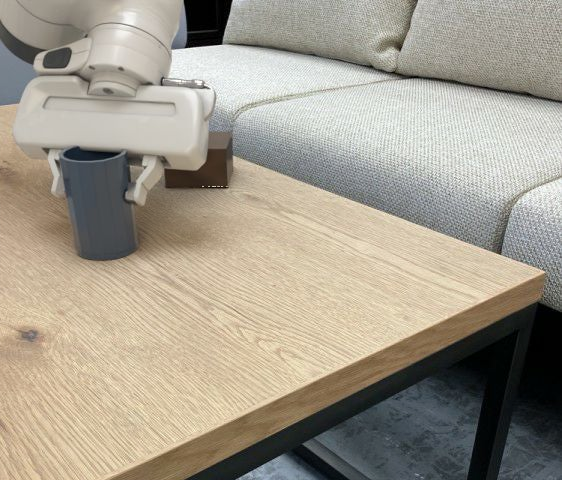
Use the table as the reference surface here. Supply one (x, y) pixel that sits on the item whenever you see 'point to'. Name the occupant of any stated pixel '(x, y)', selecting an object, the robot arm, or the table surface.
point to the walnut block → (207, 165)
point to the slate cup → (99, 203)
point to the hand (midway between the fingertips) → (96, 199)
